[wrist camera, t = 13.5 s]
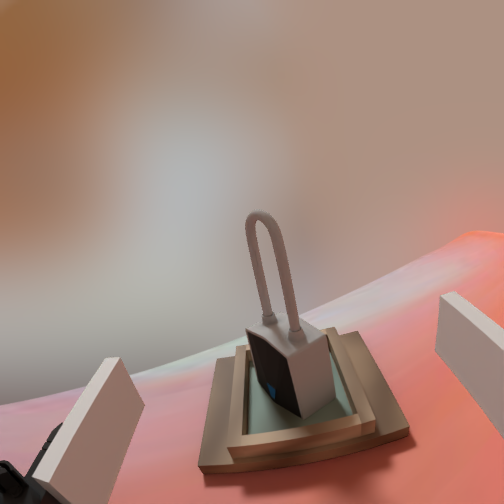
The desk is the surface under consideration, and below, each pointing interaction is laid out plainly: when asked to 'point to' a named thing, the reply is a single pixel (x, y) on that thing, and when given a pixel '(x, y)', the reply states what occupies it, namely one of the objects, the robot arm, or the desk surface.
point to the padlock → (286, 337)
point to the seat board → (290, 425)
